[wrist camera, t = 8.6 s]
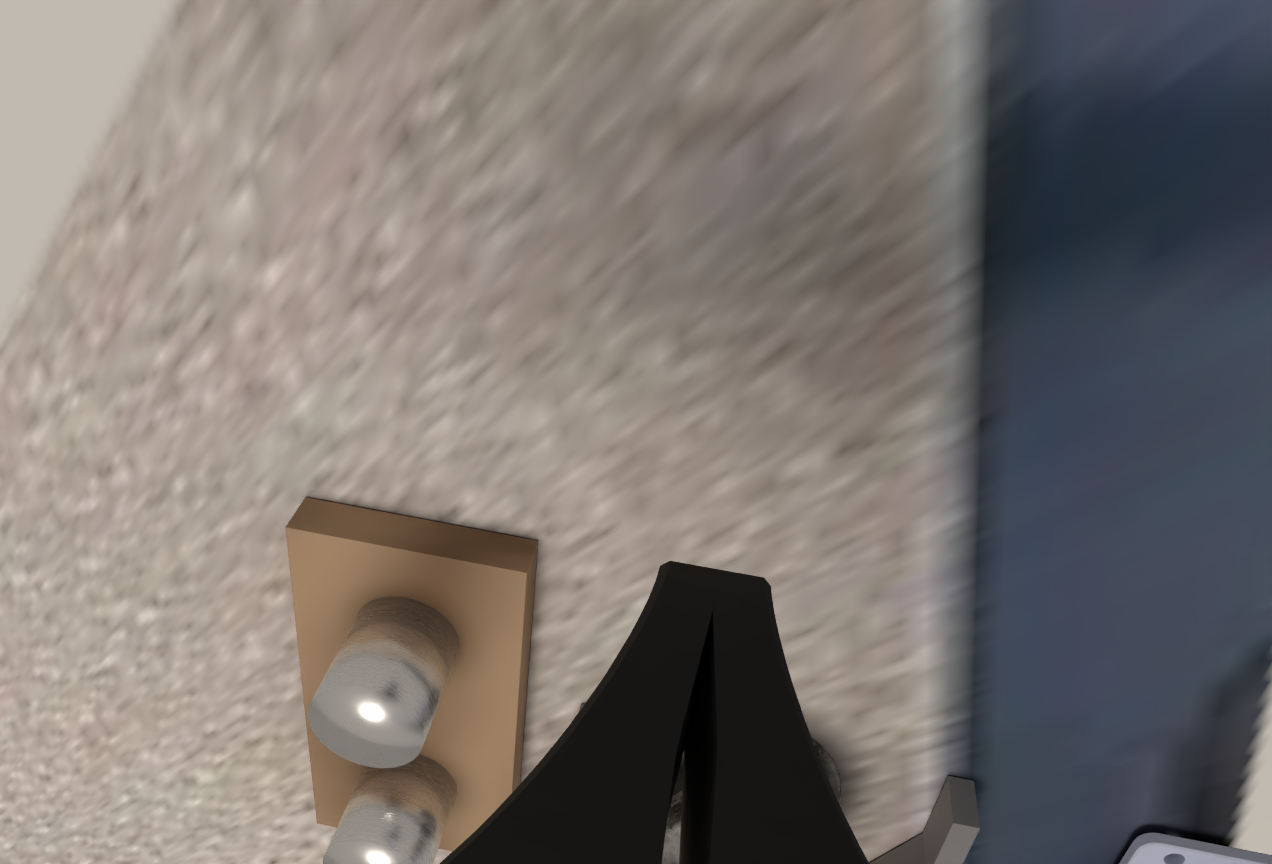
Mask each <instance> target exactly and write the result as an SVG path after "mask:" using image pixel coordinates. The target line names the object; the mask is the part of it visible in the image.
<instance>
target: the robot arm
mask: <svg viewBox="0 0 1272 864" xmlns="http://www.w3.org/2000/svg"><path fill="white" fill-rule="evenodd" d="M683 753H684V765H683V786H682V808H681V831H680V853H679V864H869V863H868V861H867V859H866V857H865V855H864V853H863V851H862V850H861V848H860V846H859V844H858V842H857V840H856V838H855V836H854V834H853V832H852V830H851V828H850V826H849V824H848V822H847V820H846V818H845V816H844V814H843V811H842V809H841V807H840V805H839V803H838V801H837V798H836V796H835V794H834V792H833V790H832V787H831V785H830V783H829V780H828V778H827V776H826V773H825V771H824V768H823V766H822V764H821V761H820V759H819V756H818V754H817V751H816V749H815V746H814V744H813V741H812V739H811V736H810V733H809V730H808V728H807V725H806V722H805V720H804V717H803V714H802V711H801V708H800V705H799V702H798V699H797V696H796V693H795V690H794V687H793V684H792V681H791V677H790V674H789V671H788V667H787V664H786V660H785V656H784V653H783V649H782V645H781V641H780V637H779V633H778V628H777V624H776V619H775V614H774V608H773V602H772V595H771V586H770V585H769V583H768V582H767V581H766V580H765V578H763V577H757V576H752V575H746V574H740V573H735V572H729V571H724V570H718V569H712V568H707V567H701V566H696V565H690V564H684V563H679V562H673V561H669V562H667V563H665V564H663V565H661V566H660V568H659V572H658V575H657V579H656V582H655V584H654V587H653V589H652V592H651V594H650V596H649V599H648V601H647V603H646V605H645V607H644V609H643V611H642V613H641V615H640V617H639V619H638V621H637V623H636V625H635V626H634V628H633V630H632V632H631V634H630V636H629V637H628V639H627V641H626V642H625V644H624V646H623V647H622V649H621V650H620V652H619V654H618V655H617V657H616V659H615V660H614V662H613V664H612V665H611V667H610V668H609V670H608V672H607V673H606V675H605V676H604V678H603V679H602V681H601V682H600V684H599V685H598V687H597V688H596V689H595V691H594V692H593V693H592V695H591V696H590V698H589V699H588V700H587V702H586V703H585V705H584V706H583V707H582V709H581V710H580V712H579V713H578V714H577V716H576V717H575V719H574V720H573V721H572V723H571V724H570V725H569V727H568V728H567V729H566V731H565V732H564V733H563V734H562V736H561V737H560V738H559V739H558V741H557V742H556V743H555V744H554V746H553V747H552V748H551V749H550V751H549V752H548V753H547V754H546V755H545V756H544V758H543V759H542V760H541V761H540V762H539V764H538V765H537V766H536V767H535V768H534V769H533V771H532V772H531V773H530V774H529V775H528V776H527V777H526V779H525V780H524V781H523V782H522V783H521V784H520V785H519V786H518V787H517V788H516V789H515V790H514V791H513V793H512V794H511V795H510V796H509V797H508V798H507V799H506V800H505V801H504V802H503V803H502V804H501V805H500V806H499V807H498V809H497V810H496V811H495V812H494V813H493V814H492V815H491V816H490V817H489V818H488V819H487V820H486V821H485V822H484V823H483V824H482V825H481V826H480V827H479V828H478V829H477V830H476V831H475V832H474V833H473V834H472V835H471V836H470V837H468V838H467V839H466V840H465V841H464V842H463V843H462V844H461V845H460V846H458V847H457V848H456V849H455V850H454V851H453V852H452V853H451V854H450V855H449V856H447V857H446V858H445V859H444V860H443V861H442V862H441V863H440V864H662V856H663V848H664V841H665V833H666V825H667V818H668V814H669V810H670V806H671V802H672V798H673V794H674V790H675V785H676V781H677V777H678V773H679V769H680V765H681V761H682V757H683ZM1119 864H1272V855H1267V854H1262V853H1257V852H1252V851H1247V850H1242V849H1237V848H1232V847H1227V846H1222V845H1217V844H1212V843H1206V842H1201V841H1196V840H1191V839H1186V838H1181V837H1176V836H1171V835H1166V834H1161V833H1152V832H1151V833H1145V834H1142V835H1140V836H1138V837H1137V838H1136V839H1135V840H1134V841H1133V842H1132V844H1131V846H1130V847H1129V849H1128V850H1127V852H1126V853H1125V855H1124V856H1123V858H1122V860H1121V861H1120V863H1119Z"/></svg>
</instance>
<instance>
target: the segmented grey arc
mask: <svg viewBox="0 0 1272 864" xmlns="http://www.w3.org/2000/svg"><path fill="white" fill-rule="evenodd" d="M584 705H585V704H581V707H580V710H581V709H582V707H583V706H584ZM579 712H580V711H579ZM979 830H980V823H979V815H978V808H977V800H976V792H975V785H974V781H973V780H968V779H962V778H957V777H952V776H948V777H947V780H946V782H945V784H944V786H943V789H942V791H941V793H940V795H939V797H938V800H937V802H936V804H935V806H934V809H933V811H932V813H931V815H930V818H929V820H928V822H927V824H926V827H925V829H924V831H923V833H922V834H920V835H918V836H916V837H915V838H913V839H911V840H909V841H908V842H906V843H904V844H902V845H901V846H899V847H897V848H895V849H894V850H892V851H890V852H888V853H886V854H885V855H883V856H881V857H879V858H878V859H876V860H874V861H872V862H871V863H869V864H963V862H964V860H965V858H966V856H967V854H968V852H969V850H970V848H971V846H972V844H973V842H974V840H975V838H976V836H977V834H978V832H979Z"/></svg>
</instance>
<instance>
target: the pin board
mask: <svg viewBox="0 0 1272 864" xmlns="http://www.w3.org/2000/svg"><path fill="white" fill-rule="evenodd" d="M286 536H287V546H288V555H289V565H290V574H291V583H292V593H293V602H294V612H295V621H296V630H297V640H298V649H299V659H300V668H301V677H302V687H303V696H304V706H305V715H306V724H307V734H308V743H309V753H310V762H311V771H312V781H313V790H314V800H315V809H316V818H317V823H318V824H323V825H328V826H332V827H337V829H336V831H335V833H334V835H333V838H332V840H331V842H330V844H329V847H328V849H327V851H326V853H325V856H324V859H323V864H433V862H434V860H435V857H436V854H437V851H438V848H439V849H444V850H449V851H454V850H455V849H456V848H457V847H458V846H460V845H461V844H462V843H463V842H464V841H465V840H466V839H467V838H468V837H470V836H471V835H472V834H473V833H474V832H475V831H476V830H477V829H478V828H479V827H480V826H481V825H482V824H483V823H484V822H485V821H486V820H487V819H488V818H489V817H490V816H491V815H492V814H493V813H494V812H495V811H496V810H497V809H498V807H499V806H500V805H501V804H502V803H503V802H504V801H505V800H506V799H507V798H508V797H509V796H510V795H511V794H512V793H513V791H514V790H515V789H516V788H517V787H518V786H519V785H520V778H521V764H522V751H523V738H524V724H525V711H526V697H527V684H528V671H529V657H530V644H531V631H532V617H533V604H534V590H535V577H536V564H537V550H538V541H537V540H531V539H526V538H520V537H515V536H510V535H504V534H499V533H494V532H488V531H483V530H478V529H472V528H467V527H462V526H456V525H451V524H446V523H440V522H435V521H430V520H424V519H419V518H414V517H408V516H403V515H398V514H392V513H387V512H381V511H376V510H371V509H365V508H360V507H355V506H349V505H344V504H339V503H333V502H328V501H323V500H317V499H312V498H307V497H305V499H304V500H303V502H302V503H301V505H300V506H299V508H298V509H297V511H296V512H295V514H294V515H293V517H292V518H291V520H290V521H289V523H288V524H287V526H286Z"/></svg>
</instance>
